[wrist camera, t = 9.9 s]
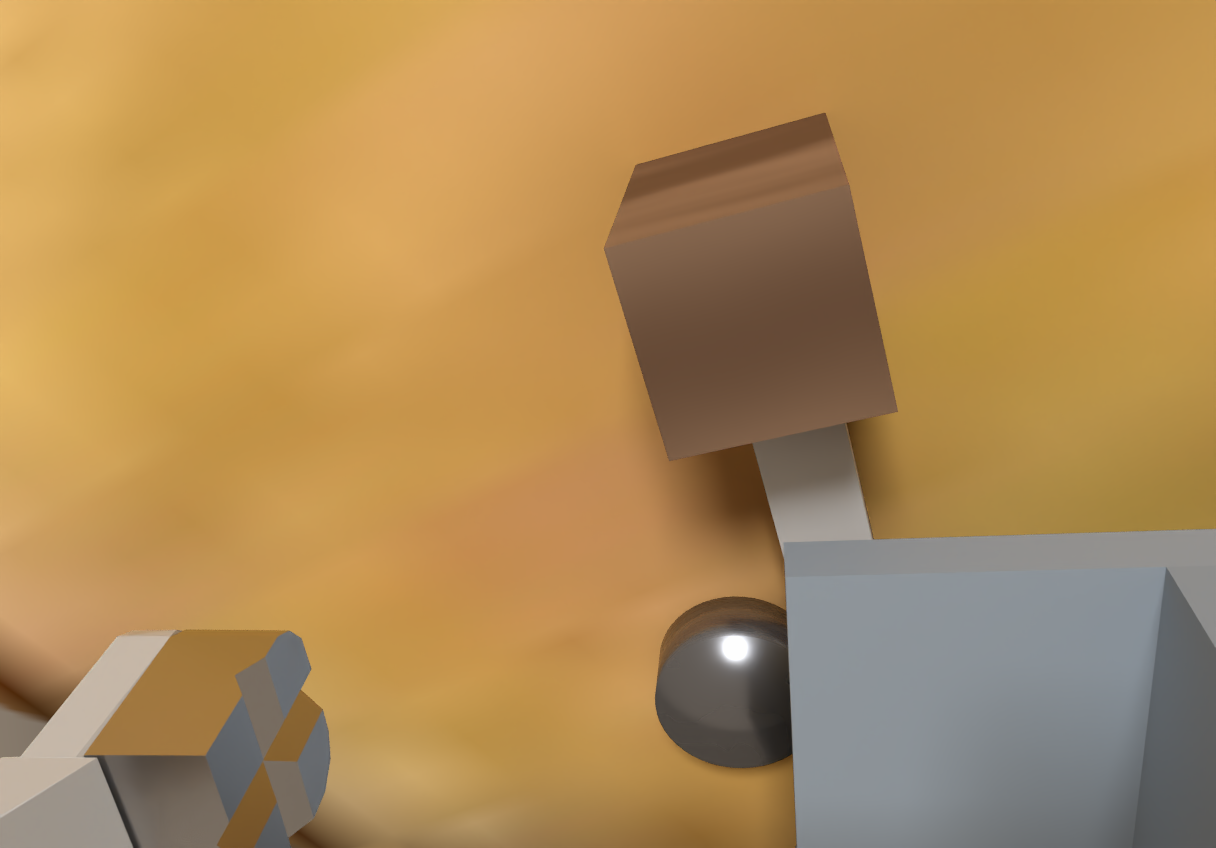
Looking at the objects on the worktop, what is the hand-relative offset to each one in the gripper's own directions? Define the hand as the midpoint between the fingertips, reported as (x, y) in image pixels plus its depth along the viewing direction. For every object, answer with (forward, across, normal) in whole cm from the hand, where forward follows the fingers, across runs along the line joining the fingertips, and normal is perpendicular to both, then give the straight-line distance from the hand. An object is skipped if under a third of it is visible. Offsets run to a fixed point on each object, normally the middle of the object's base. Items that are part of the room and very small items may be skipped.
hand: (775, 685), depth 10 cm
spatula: (+16, -1, +8) cm, 18 cm away
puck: (+16, +1, +12) cm, 20 cm away
